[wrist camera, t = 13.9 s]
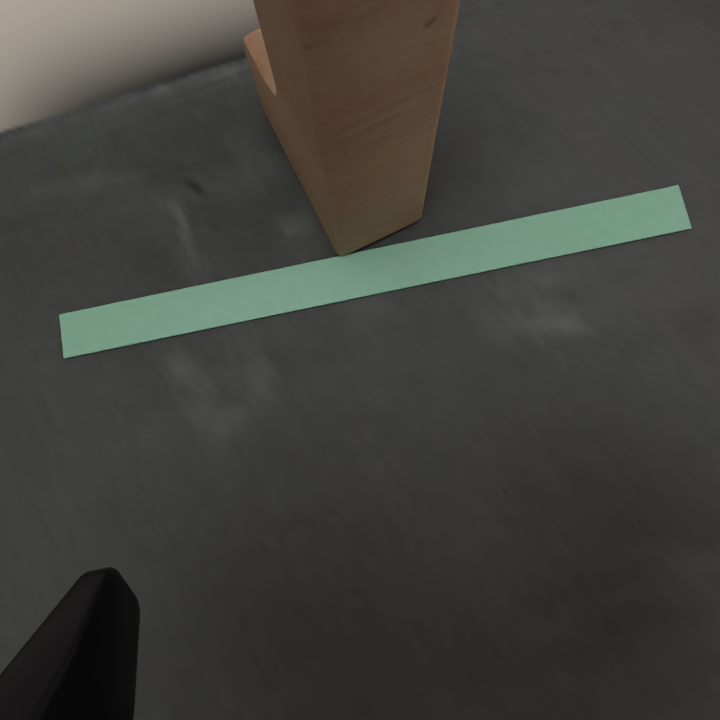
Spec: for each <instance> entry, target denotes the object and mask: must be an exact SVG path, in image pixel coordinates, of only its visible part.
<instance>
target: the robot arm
mask: <svg viewBox="0 0 720 720" xmlns="http://www.w3.org/2000/svg"><path fill="white" fill-rule="evenodd" d="M139 622H140V608H139V603H138V600H137V598H136V596H135V594H134V593H133V592H132V590H131V589H130V587H129V586H128V585H127V583H126V582H125V580H124V579H123V577H122V576H121V575H120V573H119V572H118V571H117V570H116V569H114V568H112V567H107V568H102V569H97V570H93V571H89V572H86V573H84V574H83V575H82V576H81V577H80V578H79V579H78V580H77V581H76V582H75V584H74V585H73V586H72V587H71V589H70V590H69V591H68V592H67V594H66V595H65V596H64V597H63V598H62V600H61V601H60V602H59V603H58V605H57V606H56V607H55V608H54V610H53V611H52V612H51V613H50V614H49V616H48V617H47V618H46V619H45V621H44V622H43V623H42V624H41V625H40V627H39V628H38V629H37V630H36V632H35V633H34V634H33V635H32V637H31V638H30V639H29V640H28V641H27V643H26V644H25V645H24V646H23V648H22V649H21V650H20V651H19V652H18V654H17V655H16V656H15V657H14V659H13V660H12V661H11V662H10V664H9V665H8V666H7V667H6V668H5V670H4V671H3V672H2V673H1V675H0V720H133V717H134V705H135V689H136V672H137V655H138V639H139Z"/></svg>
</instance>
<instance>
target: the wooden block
mask: <svg viewBox="0 0 720 720" xmlns="http://www.w3.org/2000/svg"><path fill="white" fill-rule="evenodd" d="M253 1H254V5H255V9H256V13H257V16H258V20H259V24H260V29H258V30H256V31H254V32H251V33H249V34H247V35H246V36H245V37H244V38H243V46H244V50H245V53H246V56H247V59H248V63H249V66H250V69H251V72H252V75H253V79H254V82H255V85H256V88H257V91H258V95H259V98H260V101H261V104H262V107H263V110H264V112H265V114H266V116H267V118H268V120H269V122H270V124H271V126H272V128H273V130H274V132H275V134H276V136H277V138H278V140H279V142H280V144H281V146H282V148H283V150H284V152H285V153H286V155H287V157H288V159H289V161H290V163H291V165H292V167H293V169H294V171H295V173H296V175H297V177H298V179H299V181H300V183H301V185H302V187H303V189H304V191H305V193H306V195H307V197H308V199H309V201H310V203H311V205H312V207H313V209H314V210H315V212H316V214H317V216H318V218H319V220H320V222H321V224H322V226H323V228H324V230H325V232H326V234H327V236H328V238H329V240H330V242H331V244H332V246H333V248H334V250H335V252H336V253H337V254H338V255H339V256H345V255H347V254H349V253H351V252H354V251H356V250H358V249H360V248H362V247H364V246H366V245H368V244H370V243H373V242H375V241H377V240H379V239H381V238H383V237H385V236H387V235H389V234H391V233H394V232H396V231H398V230H400V229H402V228H404V227H406V226H408V225H410V224H413V223H415V222H417V221H419V219H420V218H421V217H422V212H423V206H424V200H425V195H426V189H427V183H428V178H429V172H430V166H431V160H432V155H433V149H434V143H435V137H436V132H437V126H438V121H439V115H440V110H441V104H442V99H443V93H444V88H445V82H446V77H447V71H448V66H449V60H450V55H451V49H452V44H453V38H454V33H455V27H456V22H457V16H458V11H459V5H460V0H253Z"/></svg>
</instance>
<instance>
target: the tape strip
mask: <svg viewBox="0 0 720 720" xmlns="http://www.w3.org/2000/svg"><path fill="white" fill-rule="evenodd" d="M691 228H692V227H691V224H690V221H689V217H688V214H687V211H686V208H685V205H684V201H683V198H682V195H681V192H680V189H679V185H676V186H672V187H667V188H662V189H657V190H652V191H648V192H643V193H638V194H633V195H629V196H624V197H619V198H614V199H609V200H605V201H600V202H595V203H590V204H586V205H581V206H576V207H571V208H566V209H562V210H557V211H552V212H547V213H543V214H538V215H533V216H528V217H523V218H519V219H514V220H509V221H504V222H500V223H495V224H490V225H485V226H480V227H476V228H471V229H466V230H461V231H457V232H452V233H447V234H442V235H437V236H433V237H428V238H423V239H418V240H413V241H409V242H404V243H399V244H394V245H390V246H385V247H380V248H375V249H370V250H366V251H361V252H356V253H351V254H347V255H345V256H337V257H332V258H327V259H323V260H318V261H313V262H308V263H304V264H299V265H294V266H289V267H284V268H280V269H275V270H270V271H265V272H261V273H256V274H251V275H246V276H241V277H237V278H232V279H227V280H222V281H218V282H213V283H208V284H203V285H198V286H194V287H189V288H184V289H179V290H174V291H170V292H165V293H160V294H155V295H151V296H146V297H141V298H136V299H131V300H127V301H122V302H117V303H112V304H108V305H103V306H98V307H93V308H88V309H84V310H79V311H74V312H69V313H65V314H60V315H59V319H60V328H61V337H62V346H63V355H64V358H65V359H66V358H71V357H76V356H81V355H85V354H90V353H95V352H100V351H105V350H110V349H114V348H119V347H124V346H129V345H134V344H139V343H143V342H148V341H153V340H158V339H163V338H168V337H172V336H177V335H182V334H187V333H192V332H197V331H201V330H206V329H211V328H216V327H221V326H226V325H230V324H235V323H240V322H245V321H250V320H255V319H259V318H264V317H269V316H274V315H279V314H284V313H288V312H293V311H298V310H303V309H308V308H313V307H317V306H322V305H327V304H332V303H337V302H342V301H346V300H351V299H356V298H361V297H366V296H370V295H375V294H380V293H385V292H390V291H395V290H399V289H404V288H409V287H414V286H419V285H424V284H428V283H433V282H438V281H443V280H448V279H453V278H457V277H462V276H467V275H472V274H477V273H482V272H486V271H491V270H496V269H501V268H506V267H511V266H515V265H520V264H525V263H530V262H535V261H540V260H544V259H549V258H554V257H559V256H564V255H569V254H573V253H578V252H583V251H588V250H593V249H598V248H602V247H607V246H612V245H617V244H622V243H627V242H631V241H636V240H641V239H646V238H651V237H656V236H660V235H665V234H670V233H675V232H680V231H685V230H689V229H691Z"/></svg>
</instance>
